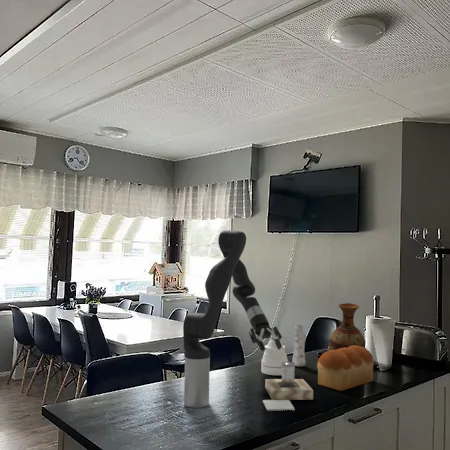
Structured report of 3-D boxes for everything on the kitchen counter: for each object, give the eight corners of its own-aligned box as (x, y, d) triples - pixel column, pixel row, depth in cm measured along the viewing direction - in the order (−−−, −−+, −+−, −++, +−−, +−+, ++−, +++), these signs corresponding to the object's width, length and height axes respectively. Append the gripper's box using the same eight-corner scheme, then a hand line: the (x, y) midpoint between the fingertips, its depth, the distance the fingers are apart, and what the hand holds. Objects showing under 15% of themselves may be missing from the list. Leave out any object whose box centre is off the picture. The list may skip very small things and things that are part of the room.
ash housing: (272, 399, 176) (272, 390, 176) (265, 387, 192) (265, 379, 192) (313, 399, 177) (313, 390, 178) (302, 387, 193) (302, 379, 193)
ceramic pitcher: (329, 362, 239) (329, 304, 240) (327, 354, 258) (327, 300, 260) (368, 364, 235) (368, 305, 237) (363, 356, 255) (363, 301, 257)
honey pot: (270, 367, 227) (270, 330, 229) (293, 371, 220) (293, 333, 221) (256, 372, 217) (256, 333, 218) (280, 376, 210) (280, 336, 211)
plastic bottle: (296, 364, 234) (296, 324, 235) (308, 366, 230) (308, 325, 231) (289, 366, 229) (289, 325, 230) (301, 368, 225) (301, 327, 226)
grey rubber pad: (267, 410, 164) (267, 409, 164) (262, 401, 174) (262, 400, 174) (294, 410, 165) (294, 408, 165) (288, 401, 175) (288, 399, 175)
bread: (341, 391, 189) (341, 355, 190) (316, 384, 198) (316, 350, 199) (374, 381, 205) (374, 347, 206) (350, 375, 215) (350, 343, 216)
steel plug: (281, 396, 181) (282, 365, 182) (278, 391, 188) (278, 361, 188) (298, 395, 182) (298, 365, 182) (294, 391, 188) (294, 361, 189)
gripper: (247, 314, 201) (261, 345, 190) (273, 312, 208) (289, 342, 197) (240, 324, 205) (254, 355, 194) (266, 322, 212) (281, 352, 201)
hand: (272, 349), depth 196 cm, fingers open, 8 cm apart
